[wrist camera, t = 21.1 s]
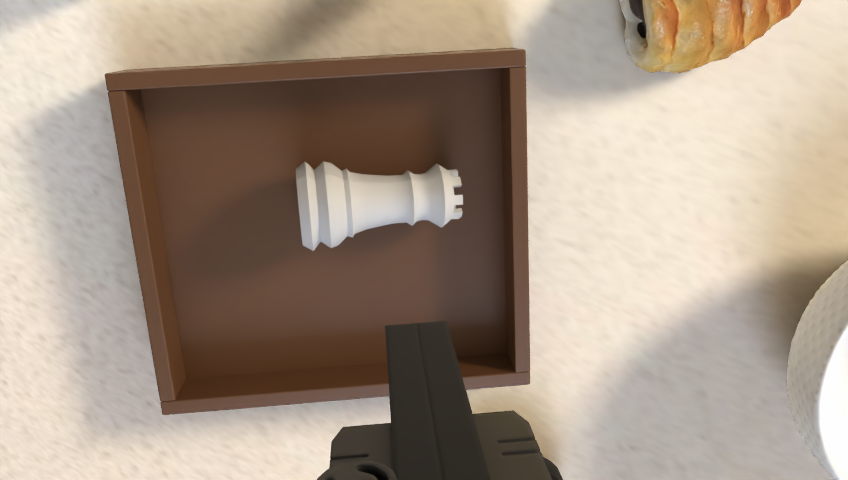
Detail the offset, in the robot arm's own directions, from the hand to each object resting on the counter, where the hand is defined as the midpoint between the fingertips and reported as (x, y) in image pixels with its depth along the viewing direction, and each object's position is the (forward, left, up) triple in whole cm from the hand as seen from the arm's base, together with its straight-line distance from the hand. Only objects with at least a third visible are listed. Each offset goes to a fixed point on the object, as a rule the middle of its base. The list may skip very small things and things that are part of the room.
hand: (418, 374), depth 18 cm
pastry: (-9, +16, -23) cm, 29 cm away
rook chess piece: (0, -5, -20) cm, 20 cm away
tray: (+2, -3, -22) cm, 23 cm away
